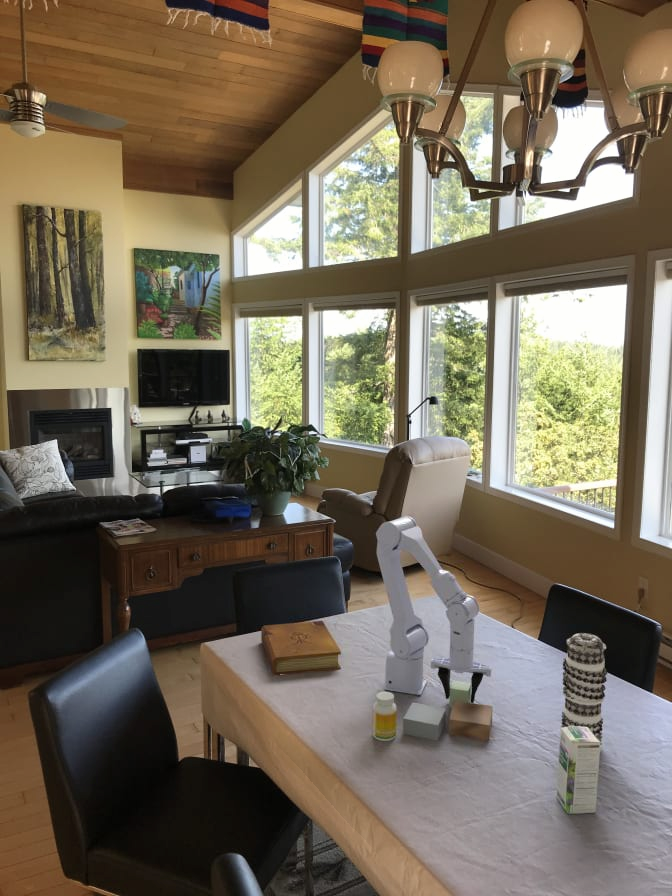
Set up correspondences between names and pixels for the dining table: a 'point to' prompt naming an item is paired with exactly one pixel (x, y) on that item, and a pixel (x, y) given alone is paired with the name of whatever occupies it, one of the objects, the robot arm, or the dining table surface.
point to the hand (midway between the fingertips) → (460, 699)
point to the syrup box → (578, 770)
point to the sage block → (460, 692)
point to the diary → (300, 647)
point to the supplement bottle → (384, 717)
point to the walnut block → (470, 720)
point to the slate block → (424, 721)
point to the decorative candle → (584, 683)
